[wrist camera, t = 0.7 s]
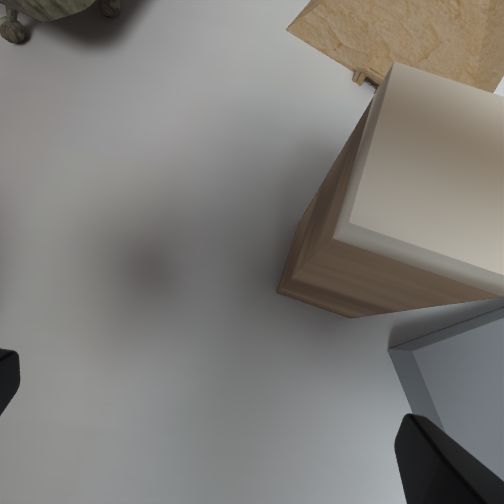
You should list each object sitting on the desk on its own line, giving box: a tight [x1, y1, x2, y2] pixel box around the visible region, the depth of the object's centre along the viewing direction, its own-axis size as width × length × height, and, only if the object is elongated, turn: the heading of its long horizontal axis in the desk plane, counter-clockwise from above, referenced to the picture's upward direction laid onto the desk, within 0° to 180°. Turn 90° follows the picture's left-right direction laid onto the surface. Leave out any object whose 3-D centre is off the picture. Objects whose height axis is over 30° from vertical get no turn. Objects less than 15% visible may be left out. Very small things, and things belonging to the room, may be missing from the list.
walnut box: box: [277, 61, 504, 318], centre depth 16 cm, size 5×5×14 cm
